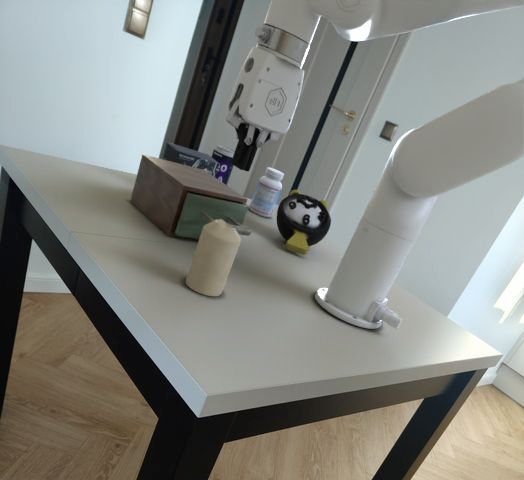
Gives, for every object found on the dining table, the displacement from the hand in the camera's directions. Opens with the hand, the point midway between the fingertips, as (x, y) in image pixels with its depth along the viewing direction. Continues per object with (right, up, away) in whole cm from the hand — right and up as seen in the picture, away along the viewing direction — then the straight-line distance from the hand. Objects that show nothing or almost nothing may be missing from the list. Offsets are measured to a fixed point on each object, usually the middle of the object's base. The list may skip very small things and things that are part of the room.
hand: (239, 167), depth 84 cm
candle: (-5, -21, -10) cm, 24 cm away
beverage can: (-9, +8, +42) cm, 44 cm away
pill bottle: (+3, +5, +47) cm, 47 cm away
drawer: (-8, -8, +10) cm, 15 cm away
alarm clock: (+11, -7, +32) cm, 34 cm away
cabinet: (-12, -6, +13) cm, 19 cm away
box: (-15, +3, +29) cm, 33 cm away
